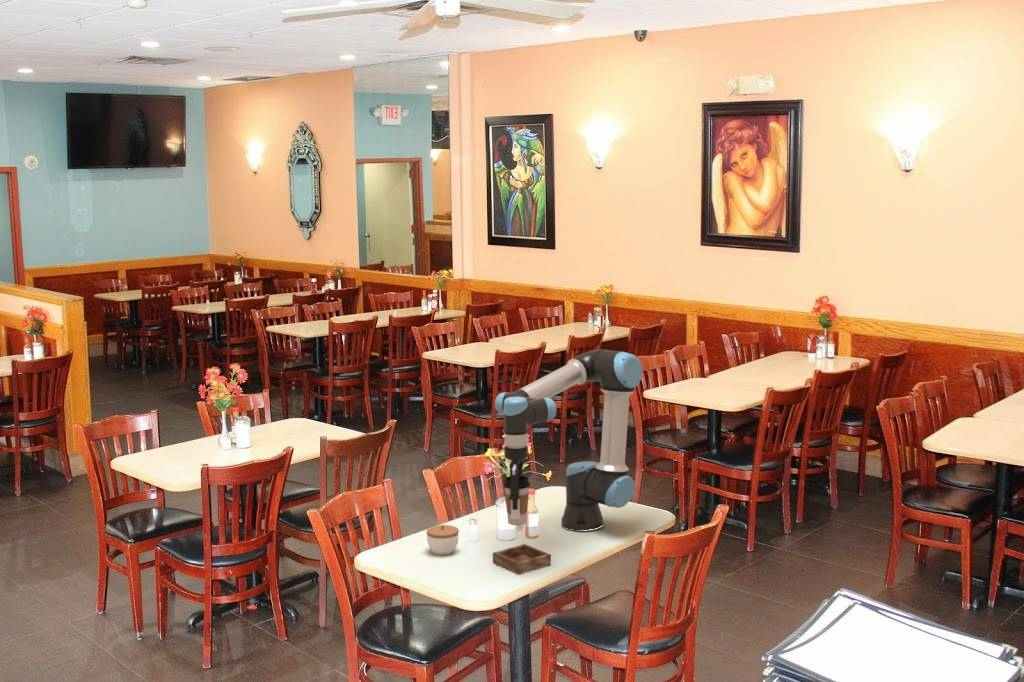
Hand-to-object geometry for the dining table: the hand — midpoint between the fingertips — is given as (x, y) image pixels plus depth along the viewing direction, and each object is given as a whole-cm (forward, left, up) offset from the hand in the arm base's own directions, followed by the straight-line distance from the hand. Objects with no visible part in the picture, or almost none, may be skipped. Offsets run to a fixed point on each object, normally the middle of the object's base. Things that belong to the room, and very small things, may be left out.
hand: (517, 514), depth 339 cm
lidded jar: (+12, -25, -17) cm, 33 cm away
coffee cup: (0, 0, -3) cm, 3 cm away
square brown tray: (-1, +1, -17) cm, 17 cm away
